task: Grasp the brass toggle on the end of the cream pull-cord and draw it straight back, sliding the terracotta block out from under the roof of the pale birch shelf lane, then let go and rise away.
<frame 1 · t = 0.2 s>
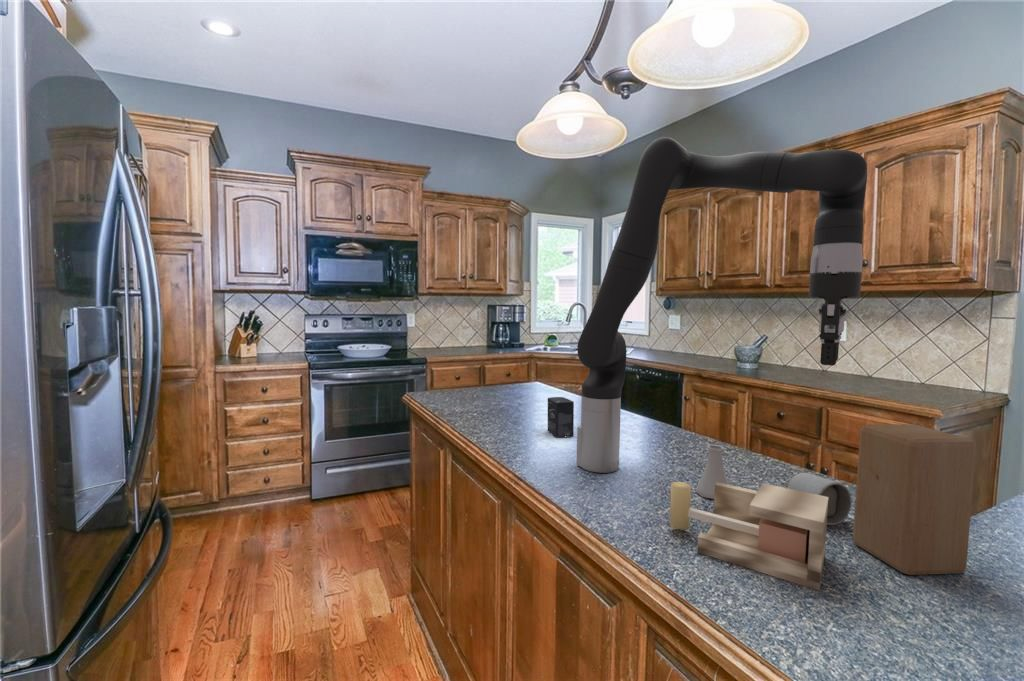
hand: (829, 362, 83), 29 cm above the counter, fingers open, 8 cm apart
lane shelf: (760, 554, 72), on the counter
pull block: (733, 519, 74), point 5 cm above the counter, slide at 0.0 cm
flask: (713, 495, 96), on the counter
ceramic mug: (810, 518, 86), on the counter
wooden block: (905, 559, 72), on the counter
box: (559, 434, 141), on the counter
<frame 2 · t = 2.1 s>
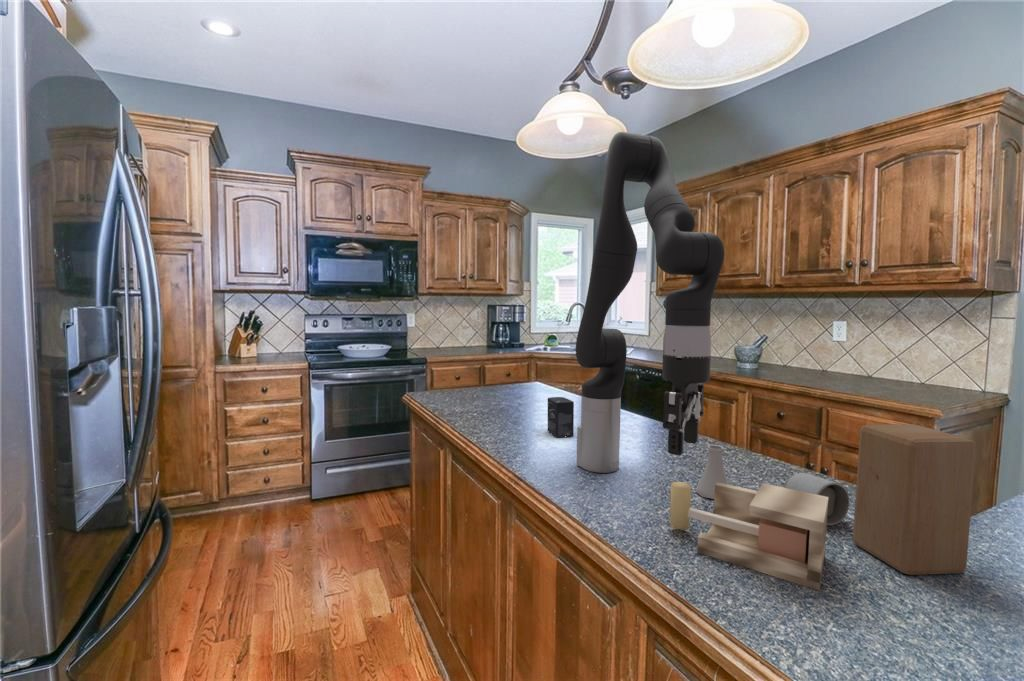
hand: (683, 448, 79), 14 cm above the counter, fingers open, 8 cm apart
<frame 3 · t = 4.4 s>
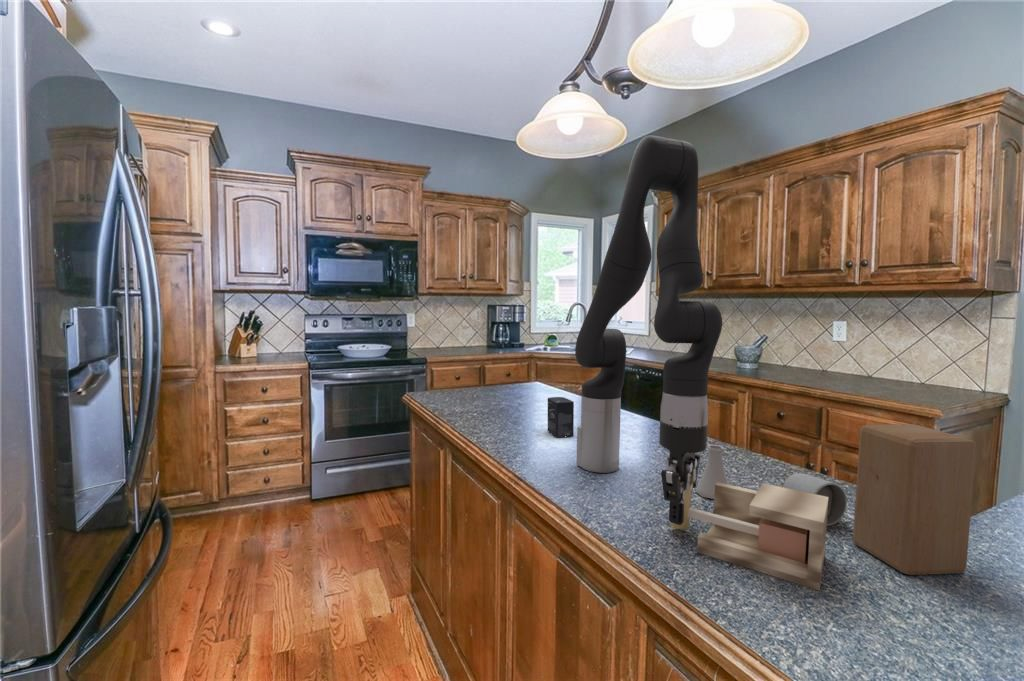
hand: (679, 518, 80), 2 cm above the counter, fingers closed on pull block, 3 cm apart
pull block: (733, 519, 74), point 5 cm above the counter, slide at 0.0 cm, touching gripper
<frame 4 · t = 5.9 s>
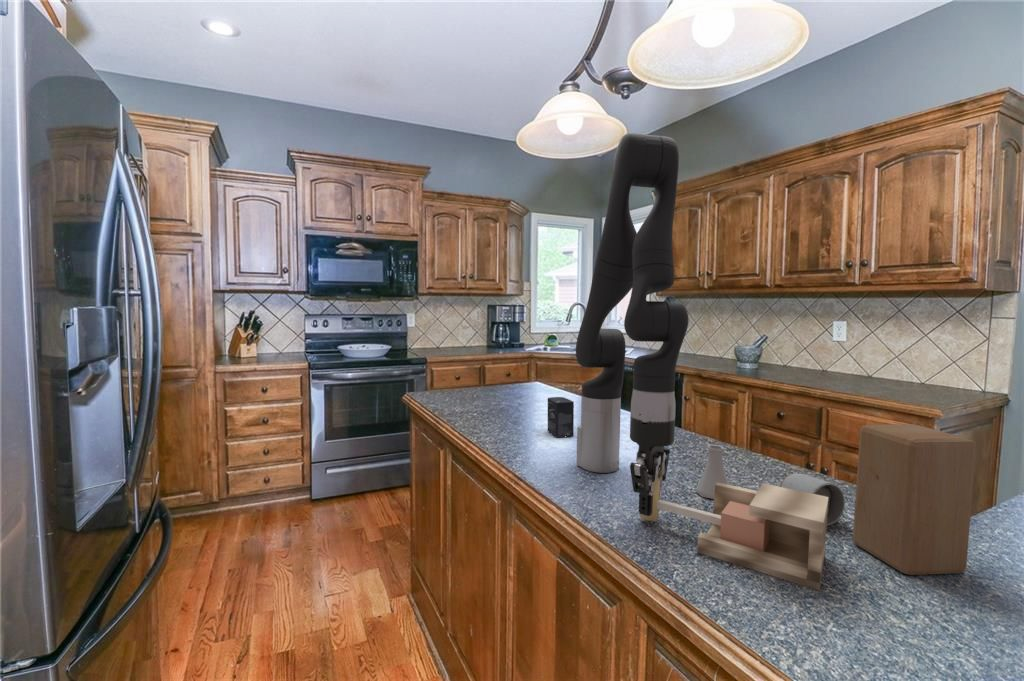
hand: (649, 510, 83), 2 cm above the counter, fingers closed on pull block, 3 cm apart
pull block: (699, 510, 78), point 5 cm above the counter, slide at 5.3 cm, touching gripper
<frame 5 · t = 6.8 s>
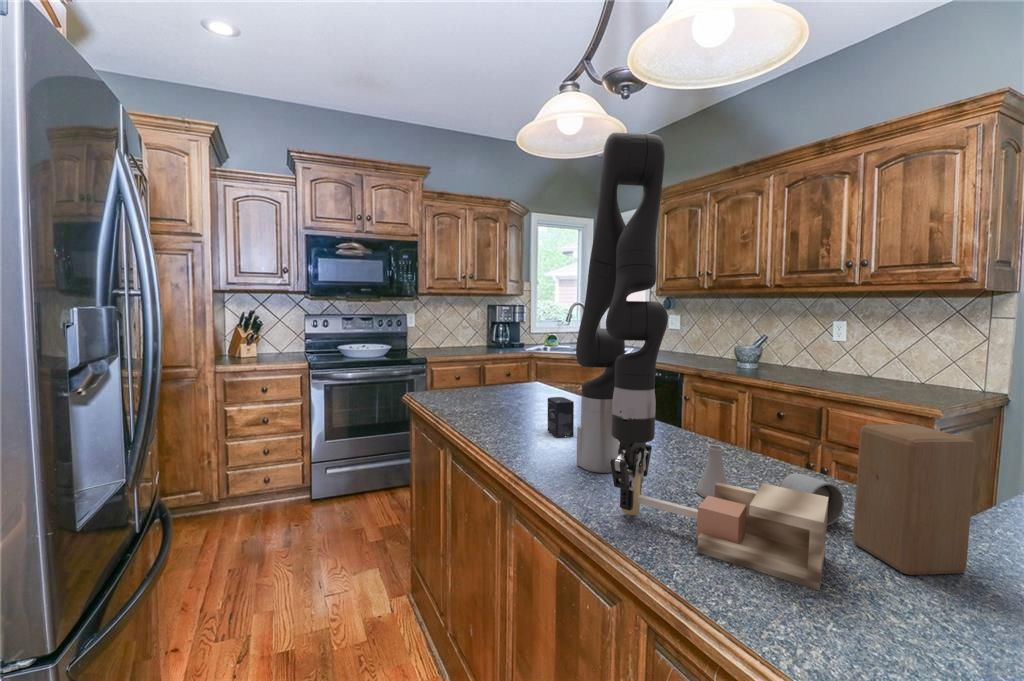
hand: (630, 504, 85), 2 cm above the counter, fingers closed on pull block, 3 cm apart
pull block: (677, 504, 80), point 5 cm above the counter, slide at 8.8 cm, touching gripper
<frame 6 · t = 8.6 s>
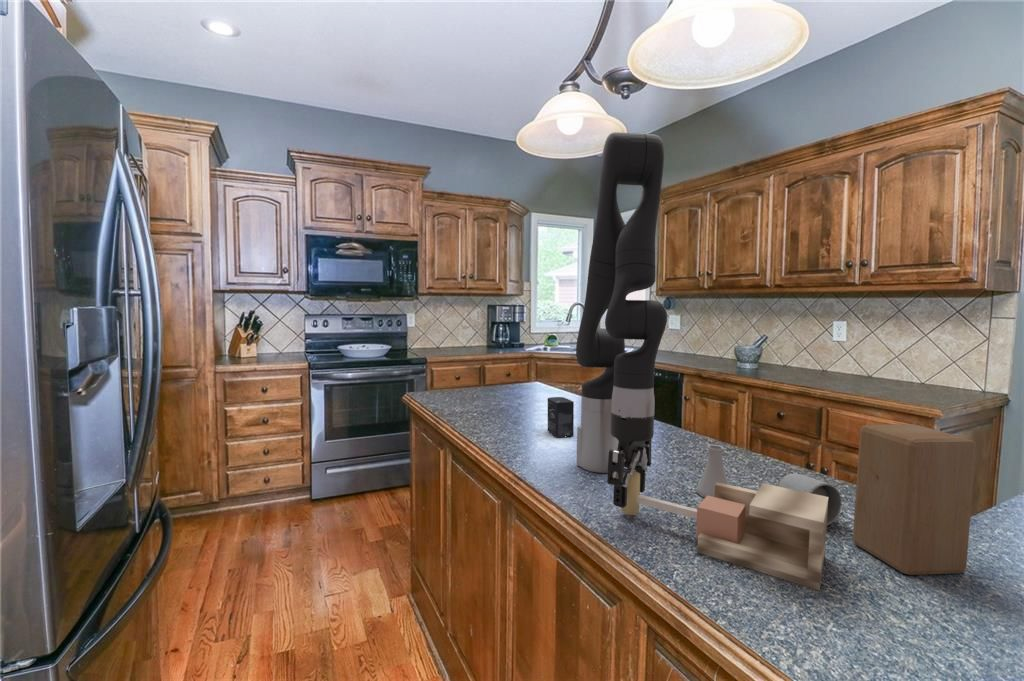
hand: (629, 498, 85), 3 cm above the counter, fingers open, 8 cm apart
pull block: (677, 504, 80), point 5 cm above the counter, slide at 8.9 cm
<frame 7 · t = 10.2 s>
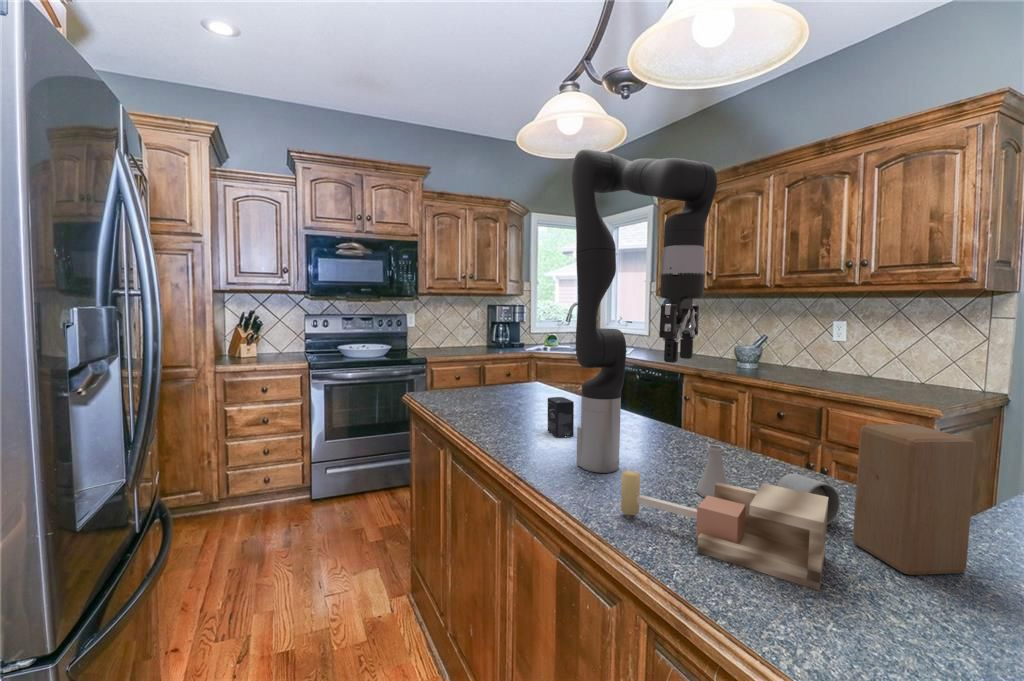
hand: (678, 360, 87), 28 cm above the counter, fingers open, 8 cm apart
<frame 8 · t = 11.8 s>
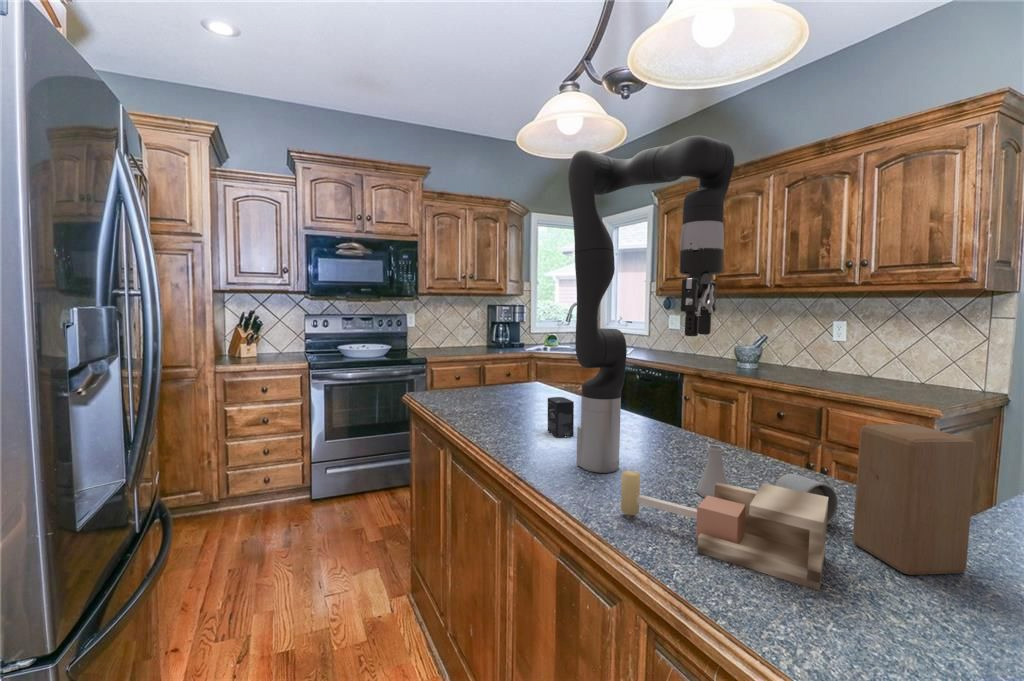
hand: (697, 335, 88), 33 cm above the counter, fingers open, 8 cm apart
at the end: pull block slide at 8.9 cm; the gripper is holding nothing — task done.
